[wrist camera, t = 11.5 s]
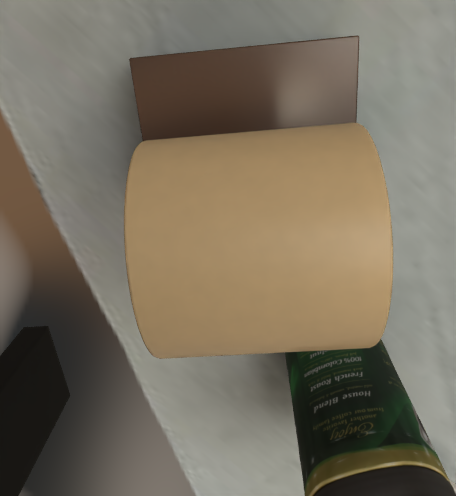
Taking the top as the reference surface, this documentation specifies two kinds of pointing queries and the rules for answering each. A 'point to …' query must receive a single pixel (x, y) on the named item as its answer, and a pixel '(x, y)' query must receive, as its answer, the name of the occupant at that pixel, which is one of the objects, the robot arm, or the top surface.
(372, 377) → the coffee jar
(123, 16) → the top surface
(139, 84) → the brown toy chest
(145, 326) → the toy wooden mallet
